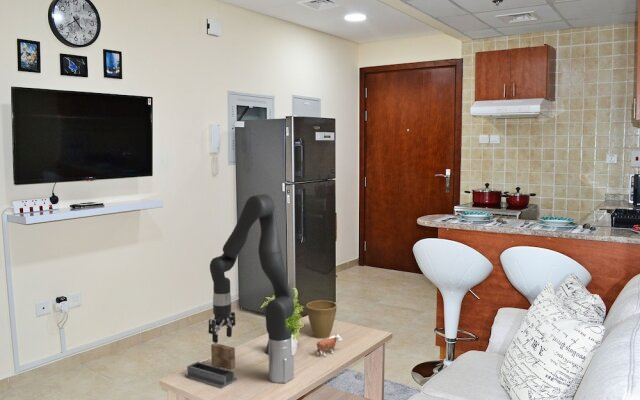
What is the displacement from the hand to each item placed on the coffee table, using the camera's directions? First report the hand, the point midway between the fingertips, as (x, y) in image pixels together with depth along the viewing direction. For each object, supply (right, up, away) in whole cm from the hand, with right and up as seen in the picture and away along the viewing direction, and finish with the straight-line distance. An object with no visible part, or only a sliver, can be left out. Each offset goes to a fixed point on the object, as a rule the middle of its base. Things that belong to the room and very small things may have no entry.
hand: (222, 339), depth 236 cm
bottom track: (-3, -13, -11) cm, 17 cm away
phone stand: (+22, -10, +17) cm, 30 cm away
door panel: (0, -12, +1) cm, 12 cm away
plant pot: (+42, -8, +38) cm, 58 cm away
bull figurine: (+46, -11, +15) cm, 49 cm away
